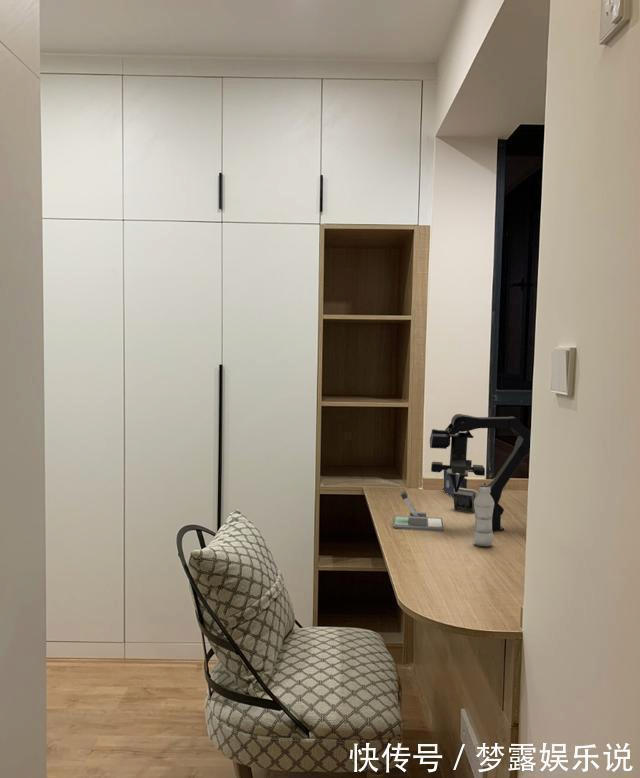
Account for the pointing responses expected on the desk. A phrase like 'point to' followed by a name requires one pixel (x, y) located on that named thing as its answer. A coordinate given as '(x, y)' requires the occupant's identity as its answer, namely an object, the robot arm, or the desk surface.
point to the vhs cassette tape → (449, 484)
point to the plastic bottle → (483, 517)
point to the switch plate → (418, 522)
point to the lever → (409, 503)
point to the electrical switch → (464, 499)
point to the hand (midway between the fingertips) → (456, 491)
